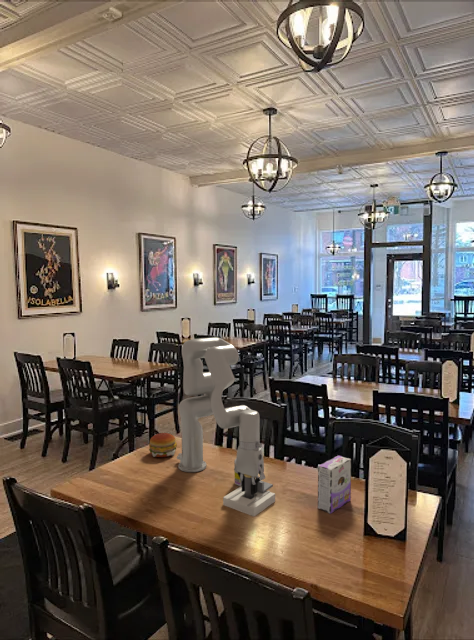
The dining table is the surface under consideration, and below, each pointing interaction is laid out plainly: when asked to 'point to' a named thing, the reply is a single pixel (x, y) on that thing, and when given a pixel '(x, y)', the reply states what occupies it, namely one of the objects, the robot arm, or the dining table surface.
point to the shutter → (263, 486)
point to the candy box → (334, 484)
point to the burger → (162, 445)
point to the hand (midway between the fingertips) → (249, 491)
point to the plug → (248, 487)
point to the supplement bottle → (237, 476)
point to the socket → (248, 501)
